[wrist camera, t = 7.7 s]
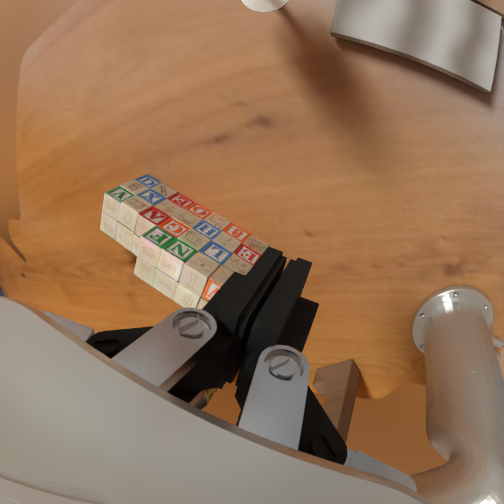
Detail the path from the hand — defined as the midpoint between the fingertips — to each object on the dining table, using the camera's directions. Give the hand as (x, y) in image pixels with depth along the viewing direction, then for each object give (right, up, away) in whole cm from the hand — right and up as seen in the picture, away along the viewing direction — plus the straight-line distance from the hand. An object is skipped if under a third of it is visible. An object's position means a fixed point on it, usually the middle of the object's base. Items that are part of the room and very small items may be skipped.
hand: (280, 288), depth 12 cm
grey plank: (+17, +26, +12) cm, 33 cm away
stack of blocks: (-9, +5, +34) cm, 36 cm away
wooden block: (+13, -18, +36) cm, 43 cm away
